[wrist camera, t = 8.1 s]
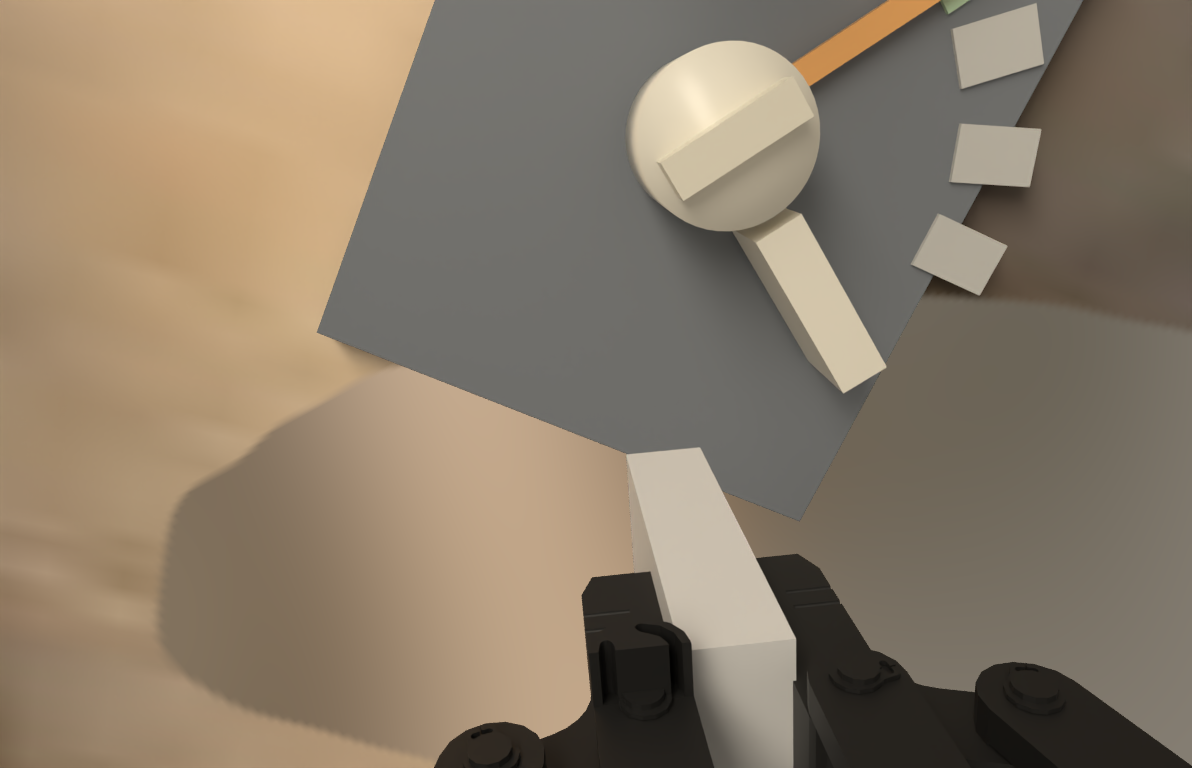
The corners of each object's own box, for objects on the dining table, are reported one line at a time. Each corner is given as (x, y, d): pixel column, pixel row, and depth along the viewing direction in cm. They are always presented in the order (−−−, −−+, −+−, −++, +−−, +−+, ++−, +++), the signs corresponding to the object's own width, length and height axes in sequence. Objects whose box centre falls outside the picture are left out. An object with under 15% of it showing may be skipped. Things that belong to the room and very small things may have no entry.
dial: (762, 385, 36) (804, 438, 30) (595, 111, 32) (605, 109, 26) (1099, 179, 34) (1214, 192, 28) (960, -135, 31) (1060, -197, 25)
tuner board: (326, 324, 36) (315, 333, 34) (572, -366, 29) (573, -395, 28) (830, 522, 40) (842, 539, 38) (1146, -47, 33) (1177, -56, 31)
